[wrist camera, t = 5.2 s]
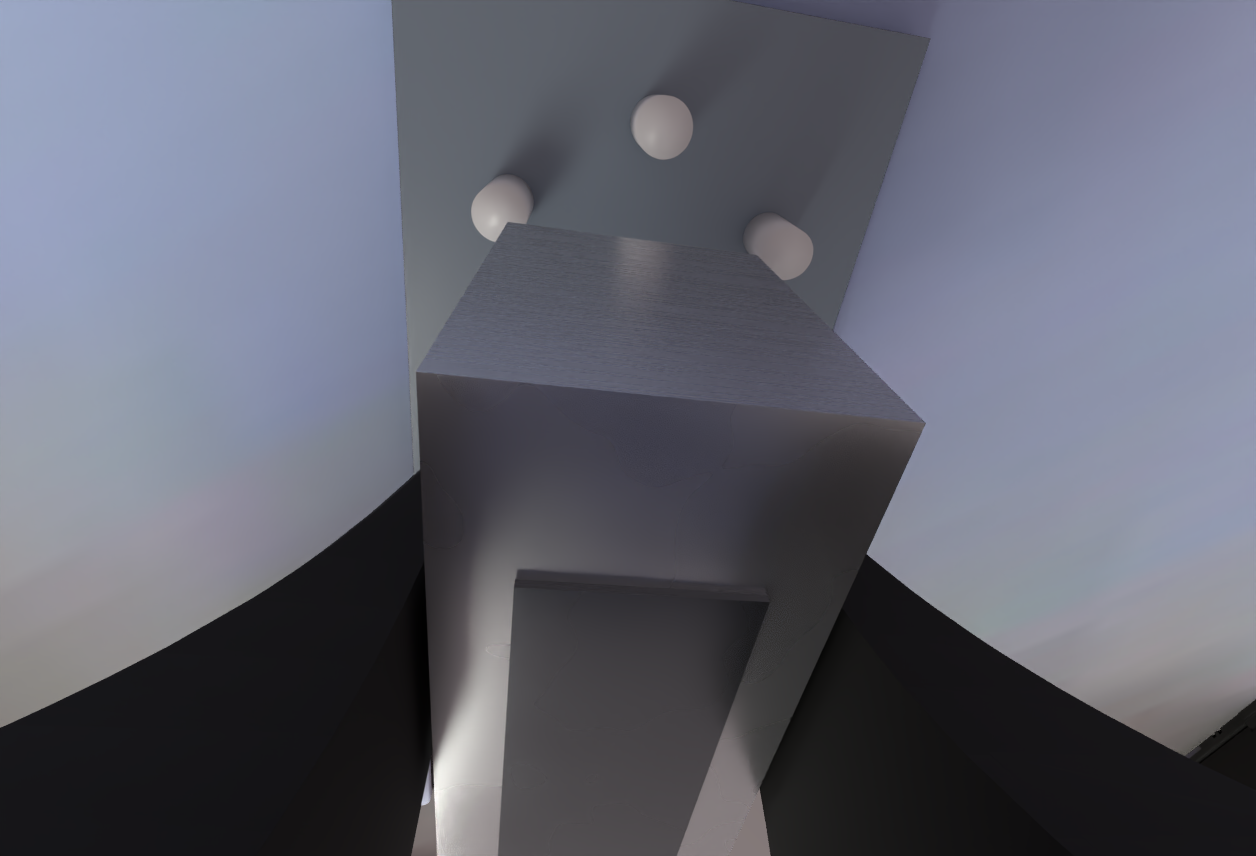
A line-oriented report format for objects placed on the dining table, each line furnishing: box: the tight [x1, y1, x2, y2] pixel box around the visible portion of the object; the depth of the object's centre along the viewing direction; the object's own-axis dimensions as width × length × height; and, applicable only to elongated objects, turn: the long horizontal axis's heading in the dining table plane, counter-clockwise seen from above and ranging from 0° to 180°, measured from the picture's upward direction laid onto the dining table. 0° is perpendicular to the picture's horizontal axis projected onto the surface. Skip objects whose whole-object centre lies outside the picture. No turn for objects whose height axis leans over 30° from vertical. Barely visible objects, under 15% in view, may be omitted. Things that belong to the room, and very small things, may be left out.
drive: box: [416, 222, 926, 856], centre depth 9 cm, size 8×4×6 cm, turn 172°
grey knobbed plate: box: [392, 0, 930, 474], centre depth 16 cm, size 16×12×3 cm
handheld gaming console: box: [1185, 700, 1256, 790], centre depth 30 cm, size 12×7×10 cm
